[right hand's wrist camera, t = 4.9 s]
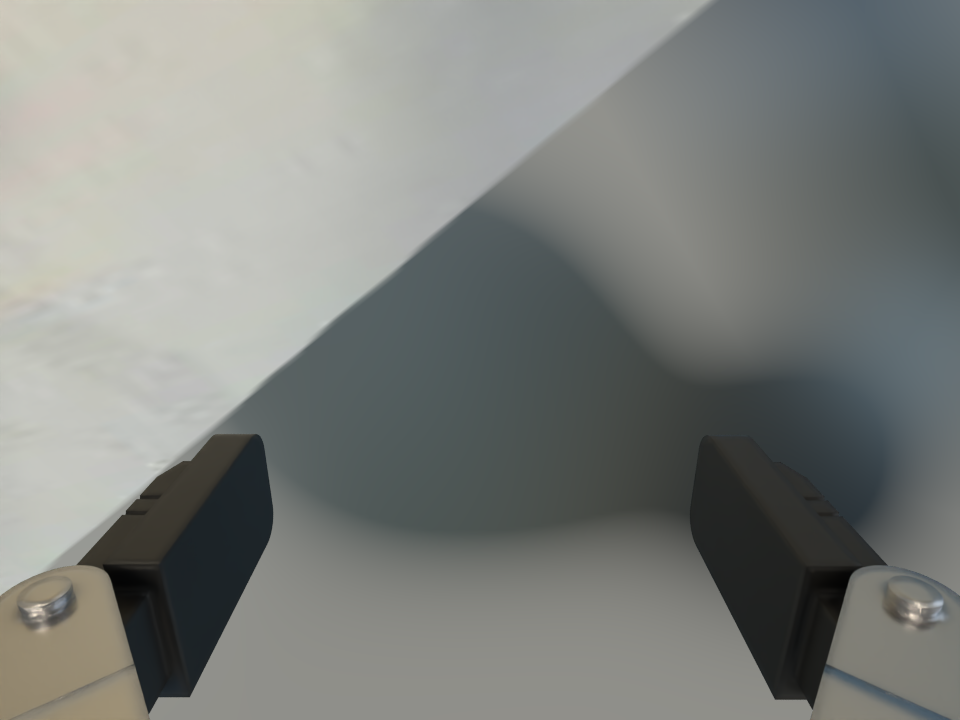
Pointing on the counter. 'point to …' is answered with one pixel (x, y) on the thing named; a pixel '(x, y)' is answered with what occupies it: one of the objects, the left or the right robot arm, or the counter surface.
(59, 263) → the counter surface
